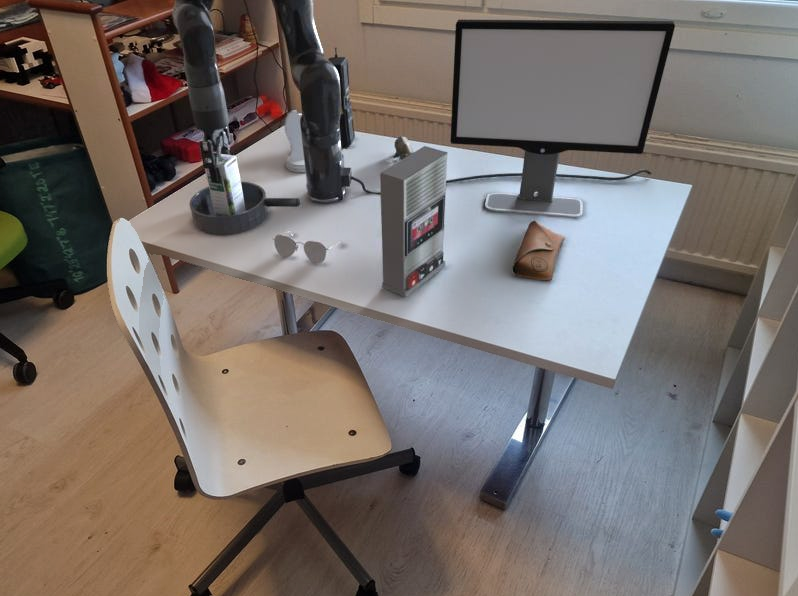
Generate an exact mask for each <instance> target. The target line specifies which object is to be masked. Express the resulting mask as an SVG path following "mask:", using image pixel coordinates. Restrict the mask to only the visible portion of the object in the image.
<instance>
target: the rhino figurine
mask: <svg viewBox="0 0 798 596" xmlns="http://www.w3.org/2000/svg"><path fill="white" fill-rule="evenodd" d="M394 148H395V154H394V156H395V157H399V160H402V159H404V158H405V157H407V156H409V155H410V154H412V153H414V149H413V148H412V145H411V143H410V142H409V140H408V138H407V137H406V136H402V135H400V136H398V137H397V138H396V139H395V141H394Z"/></svg>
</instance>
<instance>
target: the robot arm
mask: <svg viewBox="0 0 798 596" xmlns="http://www.w3.org/2000/svg"><path fill="white" fill-rule="evenodd" d="M214 3H215V0H175V2H174V5H173V9H172V21H173V24H174V26H175V28H176V30H177V33H178V36H179V40H180V45H181V49H182V53H183V59H182V60H183V62H182V63H183V69H184V73H185V78H186V84H187V92H188V98H189V99H188V100H189V103H190V104H189V105H190V108H191V109H190V110H191V114H192V118H193V123H194V127H195V128H196V129H198V130H199V131H201V132H202V133H203V140H200V141H199V143H198V144H199V149H200V156H201V160H202V166H203V168H204V169H205V168H209V172H210V177H211V182H212V183H220V182H221V175H220V170H219V158H220V157H221V154H225V155H231V154H230V150H231V145H232V138H231V133H230V129H229V124H230V117H229V113H228V107H227V101H226V96H225V90H224V87H223V84H222V79H221V75H220V69H219V63H218V59H217V54H216V53H217V52H216V38H215V30H214V29H215V28H214V24H213V20H212V17H211V14H210V13H211V11H212V8H213V5H214ZM271 4H272V7H273V9H274V12H275V14H276V18H277V20H278V23H279V25H280V28H281V31H282V33H283V37H284V42H285V46H286V51H287V56H288V62H289V63H288V64H289V68H290V74H291V78H292V82H293V84H294V86H295V87H296V89H297V90H298V91H299V94H300V105H301V114H302V116H301V118H300V127H301V135H302V144H303V153H304V162H305V171H306V172H305V179H306V190H307V198H308V200H309V201H311V202H312V203H316V204H332V203H336V202H340V201H341V202H343V201H344V199H345V195H346V191H347V188H350V187H351V184H352V181H355V182H357V183H358V184H360V185H361V188H362V191H363V192H364V193H366V194H370V195H381V192H376V191H375V192H374V191H371V190H368V189H367V188H366V185H365V183H364V181H362V180H361V179H359V178H357V177H356V176H353V172H352V167H345V158H344V154H343V153H342V147H341V138H340V122H339V120H340V117H341V92H340V80H339V75H338V71H337V69H336V68H335V66H334V65H333V64H332V63H331V62H330V61H329V60H328V59H329V58H327V57H326V54H325V51H324V50H323V47H322V44H321V41H320V37H319V34H318V31H317V27H316V22H315V0H271ZM214 157H215V158H214ZM206 159H207V161H206ZM210 159H211V162H210ZM641 173H646V174H648V175H653V173H652V171H650V170H649V169H646V168H642V169H641V168H640V169H638V170H637V171H635V172H632V173H630V174H628V175H624V176H615V177H614V176H613V177H612V176H600V175H599V176H598V175H585V174H583V175H582V174H564V173H556V178H569V179H590V180H598V181H599V180H600V181H624V180H628V179H630V178H632V177H634V176H637V175H639V174H641ZM501 177H522V172H511V173H508V172H507V173H490V174H481V175H471V176H466V177H458V178H453V179H446V184H451V183H456V182H463V181H470V180H478V179H487V178H501Z"/></svg>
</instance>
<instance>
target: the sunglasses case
mask: <svg viewBox="0 0 798 596" xmlns="http://www.w3.org/2000/svg"><path fill="white" fill-rule="evenodd" d="M565 239H566V236H563V235H561V234H559V233H557V232H555V231H554V230H551V229H549V228H547V227H545V226H544V225H541V224H540V223H538V222H537V221H536V220H534V219H533V220H532V221H530V222H529V224H528V226H527V228H526V230H525V232H524V234H523V237H522V239H521V242H520V245H519V247H518V249H517V252H516V256H515V258H514V260H513V261H514V262H513V265H512V273H513V274H514V275H515V276H516V277H519V278H523V279H528V280H536V281H547V282H548V281H552V280H553V278H554V271H555V267H556V266H555V265H556V262H557V259H558V255H559V253H560V249H561V247H562V244H563V243H564V241H565Z"/></svg>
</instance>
